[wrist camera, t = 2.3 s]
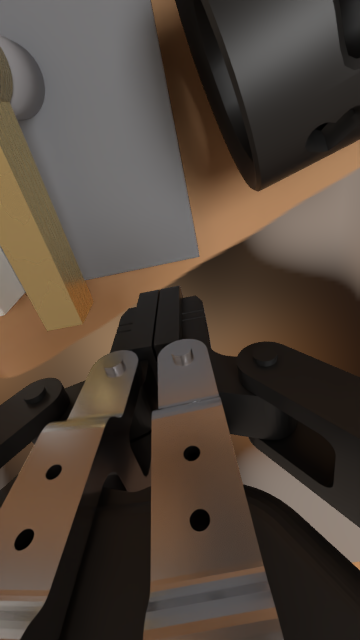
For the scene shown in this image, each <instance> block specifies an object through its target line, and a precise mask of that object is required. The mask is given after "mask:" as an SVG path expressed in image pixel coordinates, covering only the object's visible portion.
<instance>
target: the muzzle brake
mask: <svg viewBox="0 0 360 640" xmlns="http://www.w3.org/2000/svg"><path fill="white" fill-rule="evenodd" d="M175 2H176V5H177V9H178V12H179V16H180V19H181V23H182V26H183V29H184V32H185V35H186V39H187V42H188V45H189V48H190V51H191V54H192V57H193V60H194V63H195V66H196V68H197V71H198V74H199V77H200V80H201V82H202V85H203V88H204V90H205V93H206V95H207V98H208V101H209V103H210V106H211V109H212V111H213V114H214V116H215V119H216V121H217V124H218V126H219V129H220V131H221V133H222V136H223V138H224V140H225V143H226V145H227V147H228V149H229V151H230V154H231V156H232V158H233V160H234V162H235V164H236V166H237V168H238V170H239V171H240V173H241V175H242V177H243V178H244V180H245V181H246V183H247V184H248V185H249V187H250V188H252V189H253V190H256V191H260V190H262V189H264V188H266V187H268V186H270V185H272V184H274V183H276V182H278V181H280V180H282V179H284V178H286V177H288V176H290V175H291V174H293V173H295V172H297V171H299V170H301V169H303V168H305V167H307V166H309V165H311V164H313V163H315V162H317V161H319V160H321V159H323V158H325V157H327V156H328V155H330V154H332V153H334V152H336V151H338V150H340V149H342V148H344V147H346V146H348V145H350V144H352V143H354V142H356V141H358V140H360V0H175Z"/></svg>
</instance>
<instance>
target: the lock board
mask: <svg viewBox="0 0 360 640" xmlns="http://www.w3.org/2000/svg"><path fill="white" fill-rule="evenodd" d="M0 47H1V48H2V50H3V52H4V54H5V56H6V58H7V60H8V63H9V66H10V69H11V73H12V80H13V91H12V97H11V100H10V104H11V107H12V109H13V111H14V114H15V116H16V119H17V121H18V123H19V126H20V128H21V130H22V133H23V135H24V138H25V140H26V142H27V145H28V147H29V149H30V152H31V154H32V157H33V159H34V161H35V164H36V166H37V168H38V171H39V173H40V176H41V178H42V180H43V183H44V185H45V187H46V190H47V192H48V195H49V197H50V199H51V202H52V204H53V206H54V209H55V211H56V214H57V216H58V218H59V221H60V223H61V225H62V228H63V230H64V233H65V235H66V237H67V240H68V242H69V244H70V247H71V249H72V252H73V254H74V256H75V259H76V261H77V263H78V266H79V268H80V271H81V273H82V275H83V278H84V280H89V279H94V278H99V277H104V276H108V275H113V274H118V273H123V272H128V271H133V270H137V269H142V268H147V267H152V266H157V265H162V264H166V263H171V262H176V261H181V260H186V259H191V258H195V257H199V250H198V245H197V239H196V234H195V229H194V224H193V218H192V213H191V208H190V203H189V198H188V192H187V187H186V182H185V177H184V171H183V166H182V161H181V156H180V150H179V145H178V140H177V135H176V130H175V124H174V119H173V114H172V109H171V103H170V98H169V93H168V88H167V83H166V77H165V72H164V67H163V62H162V56H161V51H160V46H159V41H158V35H157V30H156V25H155V20H154V15H153V9H152V4H151V0H0ZM24 293H26V292H25V290H24V288H23V286H22V284H21V282H20V281H19V279H18V277H17V275H16V273H15V271H14V270H13V268H12V266H11V264H10V262H9V260H8V259H7V257H6V255H5V253H4V251H3V249H2V248H1V246H0V316H3V315H5V314H6V313H7V312H8V311H9V310H10V309H11V308H12V307H13V305H14V304H15V303H16V302H17V301H18V300H19V299H20V298H21V297H22V295H23V294H24Z"/></svg>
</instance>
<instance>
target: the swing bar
mask: <svg viewBox="0 0 360 640" xmlns="http://www.w3.org/2000/svg"><path fill="white" fill-rule="evenodd" d="M12 91H13V80H12V73H11V69H10V66H9V63H8V60H7V58H6V56H5V54H4V52H3V50H2V48H1V47H0V246H1V248H2V249H3V251H4V253H5V255H6V257H7V259H8V260H9V262H10V264H11V266H12V268H13V270H14V271H15V273H16V275H17V277H18V279H19V281H20V282H21V284H22V286H23V288H24V290H25V292H26V293H27V295H28V297H29V299H30V301H31V303H32V304H33V306H34V308H35V310H36V312H37V314H38V315H39V317H40V319H41V321H42V323H43V325H44V326H45V328H46V330H47V331H50V330H56V329H61V328H66V327H71V326H77V325H82V324H83V323H84V321H85V319H86V317H87V315H88V313H89V310H90V308H91V306H92V304H93V302H94V301H93V299H92V297H91V294H90V292H89V290H88V287H87V285H86V282H85V280H84V278H83V275H82V273H81V271H80V268H79V266H78V263H77V261H76V259H75V256H74V254H73V252H72V249H71V247H70V244H69V242H68V240H67V237H66V235H65V233H64V230H63V228H62V225H61V223H60V221H59V218H58V216H57V214H56V211H55V209H54V206H53V204H52V202H51V199H50V197H49V195H48V192H47V190H46V187H45V185H44V183H43V180H42V178H41V176H40V173H39V171H38V168H37V166H36V164H35V161H34V159H33V157H32V154H31V152H30V149H29V147H28V145H27V142H26V140H25V138H24V135H23V133H22V130H21V128H20V126H19V123H18V121H17V119H16V116H15V114H14V111H13V109H12V107H11V104H10V100H11V97H12Z"/></svg>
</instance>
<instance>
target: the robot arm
mask: <svg viewBox="0 0 360 640" xmlns="http://www.w3.org/2000/svg"><path fill="white" fill-rule="evenodd" d="M230 434H234V435H240V436H247V437H249V439H250V441H251V443H252V444H253V445H254V446H255V447H256V448H257V449H259V450H260V451H261V452H263V453H264V454H265V455H266V456H268V457H269V458H270V459H272V460H273V461H274V462H276V463H277V464H278V465H279V466H281V467H282V468H283V469H285V470H286V471H287V472H288V473H290V474H291V475H292V476H294V477H295V478H296V479H297V480H299V481H300V482H301V483H303V484H304V485H305V486H307V487H308V488H309V489H310V490H312V491H313V492H314V493H316V494H317V495H318V496H320V497H321V498H322V499H323V500H325V501H326V502H327V503H329V504H330V505H331V506H332V507H334V508H335V509H336V510H338V511H339V512H340V513H341V514H343V515H344V516H345V517H347V518H348V519H349V520H350V521H352V522H353V523H354V524H356V525H357V526H358V527H360V377H358V376H355V375H353V374H351V373H348V372H346V371H344V370H341V369H339V368H337V367H334V366H332V365H329V364H327V363H325V362H322V361H320V360H317V359H315V358H313V357H311V356H308V355H306V354H304V353H301V352H299V351H297V350H294V349H292V348H289V347H287V346H285V345H282V344H279V343H275V342H258V343H254V344H251V345H249V346H247V347H245V348H244V349H243V350H241V352H240V353H239V354H238V356H237V357H232V356H225V355H221V354H218V353H216V352H214V351H213V350H212V349H211V345H210V338H209V332H208V327H207V323H206V317H205V313H204V308H203V302H202V301H201V300H200V299H199V298H198V297H197V296H192V297H186V298H183V295H182V291H181V287H180V286H175V287H170V288H165V289H161V290H155V291H150V292H145V293H140V295H139V299H138V303H137V307H135V308H129V309H128V310H127V311H126V312H125V313H124V314H123V316H122V317H121V319H120V322H119V327H118V329H117V334H116V335H115V338H114V342H113V345H112V348H111V352H110V353H109V354H107V355H105V356H103V357H102V358H100V359H99V360H98V361H97V362H96V363H95V364H94V365H93V367H92V368H91V370H90V372H89V375H88V377H87V379H86V380H85V381H83V382H80V383H78V384H75V385H73V386H70V387H68V388H65V389H64V387H63V385H62V383H61V382H60V381H59V380H58V379H56V378H45V379H41V380H38V381H36V382H33V383H31V384H30V385H28V386H26V387H25V388H23V389H22V390H21V391H19V392H18V393H17V394H15V395H14V396H12V397H11V398H10V399H8V400H7V401H6V402H4V403H3V404H1V405H0V468H1V467H2V466H4V465H5V464H6V463H7V462H8V461H9V460H11V459H12V458H13V457H14V456H15V455H16V454H17V453H18V452H20V451H21V450H22V449H23V448H25V447H26V446H27V445H28V444H29V443H30V442H33V443H34V447H33V448H32V450H31V452H30V454H29V456H28V458H27V460H26V462H25V463H24V465H23V467H22V469H21V471H20V473H19V474H18V475H17V476H16V477H15V478H14V479H13V480H11V481H10V482H9V483H8V484H7V485H6V486H5V487H4V488H2V489H1V490H0V640H360V570H359V569H358V568H357V567H356V566H354V565H353V564H352V563H351V562H350V561H349V560H348V559H347V558H346V557H345V556H343V555H342V554H341V553H340V552H339V551H338V550H337V549H336V548H335V547H334V546H332V544H330V543H329V542H328V541H327V540H326V539H325V538H324V537H323V536H322V535H321V534H319V533H318V532H317V531H316V530H315V529H314V528H313V527H312V526H311V525H310V524H309V523H308V522H307V521H305V520H304V519H303V518H302V517H301V516H300V515H299V514H298V513H296V512H295V511H294V510H293V509H292V508H291V507H289V506H288V505H287V504H285V503H284V502H282V501H281V500H280V499H278V498H276V497H274V496H272V495H271V494H269V493H267V492H264V491H262V490H259V489H257V488H254V487H251V486H247V485H243V483H242V479H241V475H240V472H239V468H238V464H237V460H236V456H235V452H234V449H233V444H232V440H231V437H230Z"/></svg>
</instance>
